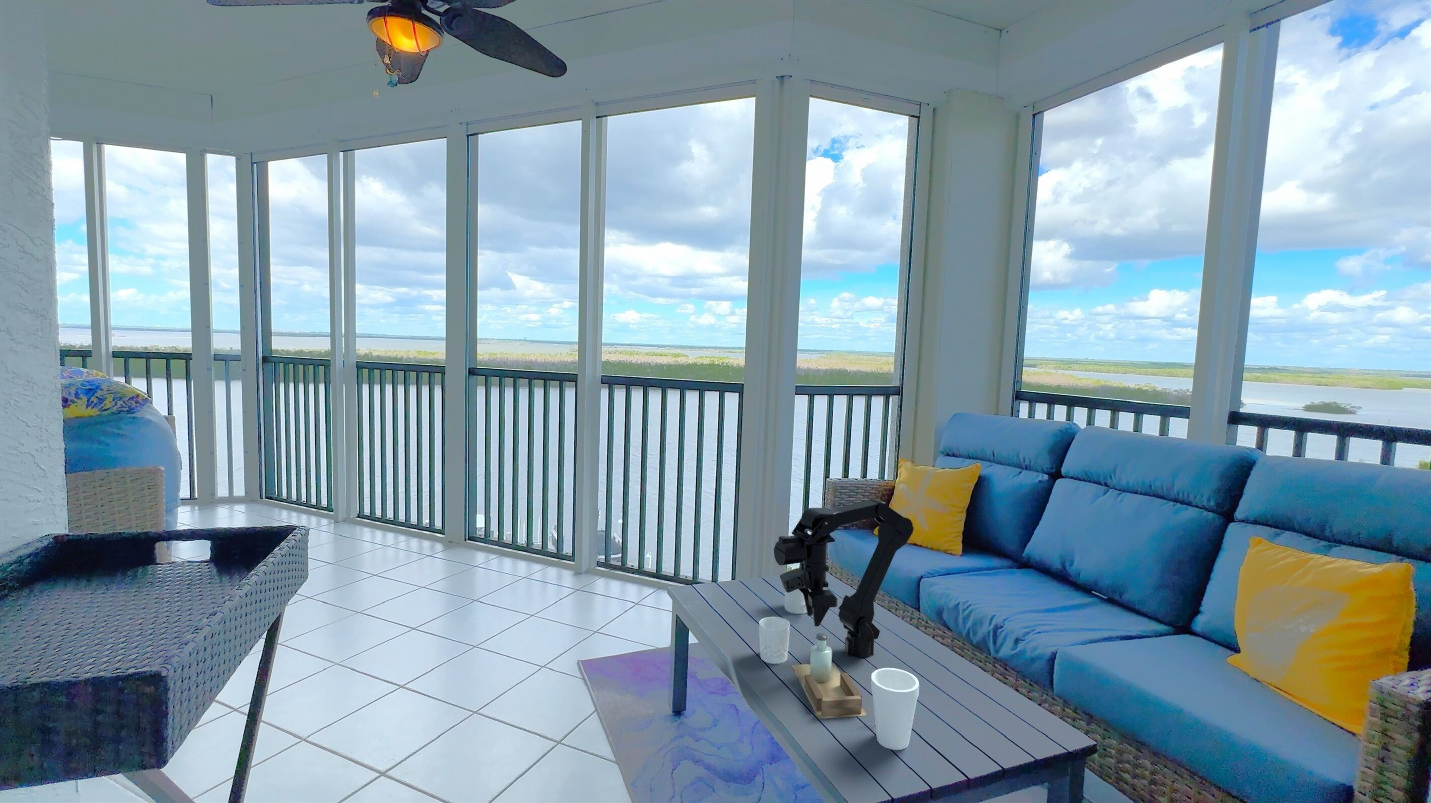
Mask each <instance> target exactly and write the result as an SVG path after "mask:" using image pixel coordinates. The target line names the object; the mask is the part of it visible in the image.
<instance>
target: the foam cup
mask: <svg viewBox="0 0 1431 803" xmlns="http://www.w3.org/2000/svg"><path fill="white" fill-rule="evenodd" d="M870 675H871V683H870V690H871V692H872V694H871V695H872V701H873V711H874V722H875V723H874V726H875V733H876V734H875V735H876V740H877V742H878V743H879V745H880V746H883V747H884V748H886V749H889V750H893V751H901V750H904V749H906V748H907V747H908V746H909V743H910V739H911V734H912V728H913V723H914V718H915V713H916V707H917V701H918V698H919V697H920V696H919V694H920V693H919V692H920V683H919V679H918V678H917V677H916V676H915V675H914V674H912V673H910V672H908V671H906V670H903V669H899V668H894V667H883V668H882V667H881V668H879V669H876V670H874V671H873V672H872V673H871V674H870Z"/></svg>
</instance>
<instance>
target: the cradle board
mask: <svg viewBox="0 0 1431 803" xmlns="http://www.w3.org/2000/svg"><path fill="white" fill-rule="evenodd" d="M791 668H792V669H793V671H794V674H795V676H796V677H797V679H798V681H799V683H800V686H801V687H802V689H803V691H804V693H805V695H806V698H807V699H808V702H809V703H810V705H811V707H812V709H813V711H814V713H815V715H816V717H817V719H818V720H819V719H832V718H833V719H834V718H836V719H837V718H850V717H867V716H868V714H867V712H866V711H865V709H864V707H863V706H862V705H863V695H862V693H861V692H860V690H858V687H857V686H856V684H855V683H854V681H853V680H852V678H851V677H850V675H849V674H848V672H840V670H839V668H838V666H836V663H835V662H831V680H830V681H829V682H826V683H819V682H815V680H814V679H813V677H812V675H810V663H808V664H807V663H806V664H803V663H802V664H791Z"/></svg>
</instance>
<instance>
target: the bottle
mask: <svg viewBox="0 0 1431 803" xmlns="http://www.w3.org/2000/svg"><path fill="white" fill-rule="evenodd" d="M815 638H816V644H814V645H811V647H810V663H809V664H810V675H812V677H813V679H814V680H815V682H819V683H826V682H829V681H830V680H831V663H832V662H833V661H832V657H833V650H832V648H831V646H828V645H827V640H828V635H827V634H826V633H822V632H820V633H817V634H816V635H815Z"/></svg>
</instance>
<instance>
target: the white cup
mask: <svg viewBox="0 0 1431 803" xmlns="http://www.w3.org/2000/svg"><path fill="white" fill-rule="evenodd" d="M758 630H759V631H758V633H759V634H758V636H759V638H758V640H759V651H760V656H759V657H760V658H761V660H762V661H764V662H765V663H768V664H772V665H773V664H774V665H778V664H783V663H784V662H786V661H787V660H788V653H789V645H790V631H791V622H790V621H789V620H788V619H786V618H784V617H779V616H769V617H768V616H767V617H764V618H761V619H760V620H759V622H758Z"/></svg>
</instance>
